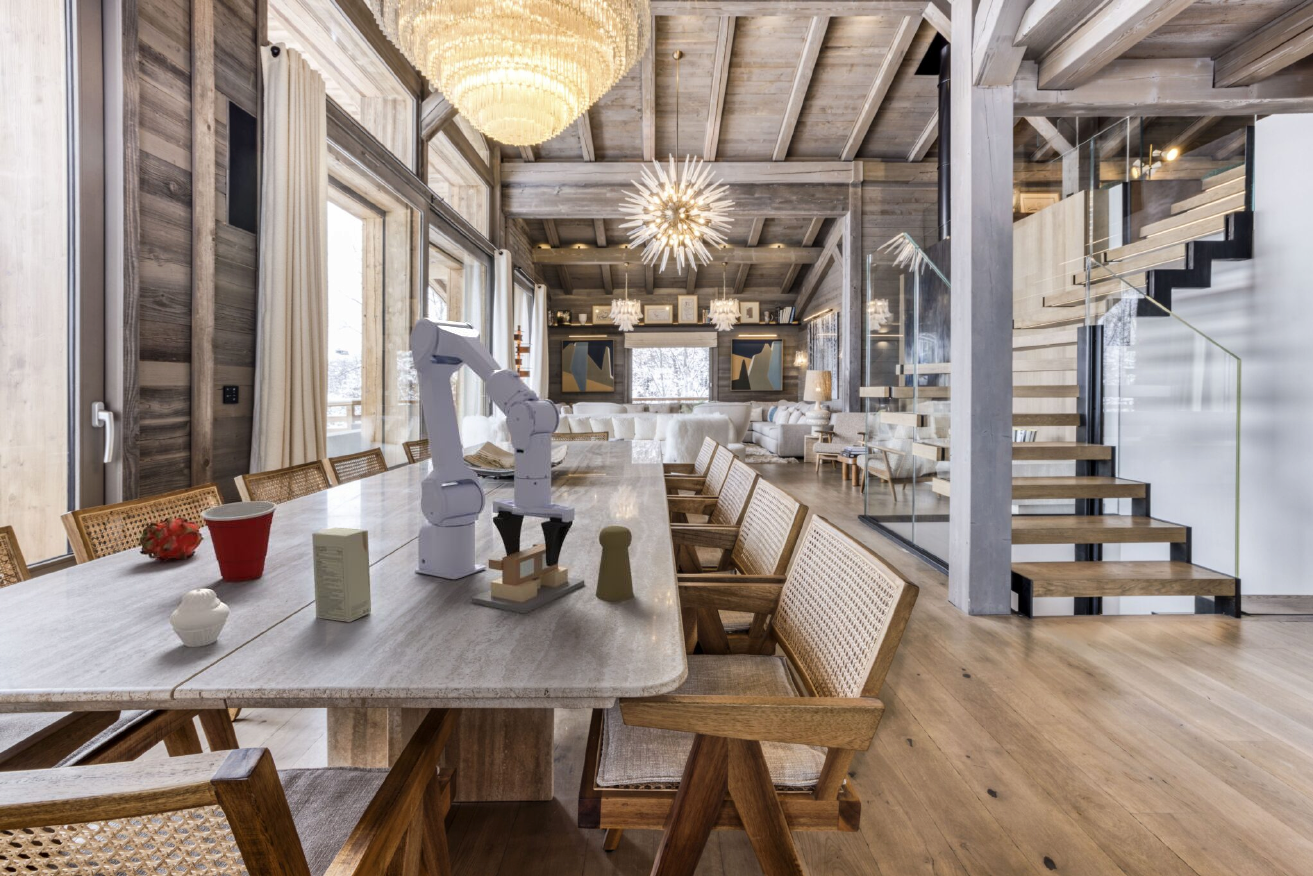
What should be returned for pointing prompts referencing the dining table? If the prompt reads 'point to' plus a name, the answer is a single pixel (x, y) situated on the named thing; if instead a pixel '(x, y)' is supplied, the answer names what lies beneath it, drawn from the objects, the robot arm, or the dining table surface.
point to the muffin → (199, 618)
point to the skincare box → (341, 574)
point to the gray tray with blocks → (528, 592)
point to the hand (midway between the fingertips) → (532, 561)
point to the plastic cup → (240, 537)
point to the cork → (615, 565)
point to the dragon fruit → (170, 539)
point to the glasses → (523, 565)
